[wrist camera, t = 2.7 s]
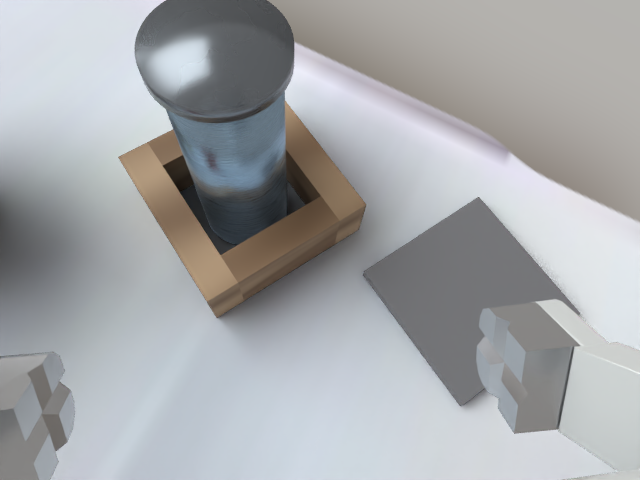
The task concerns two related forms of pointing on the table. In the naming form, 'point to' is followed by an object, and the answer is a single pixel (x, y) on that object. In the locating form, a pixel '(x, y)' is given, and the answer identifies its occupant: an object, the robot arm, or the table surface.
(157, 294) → the table surface
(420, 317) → the mat
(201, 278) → the bore block
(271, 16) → the plunger
